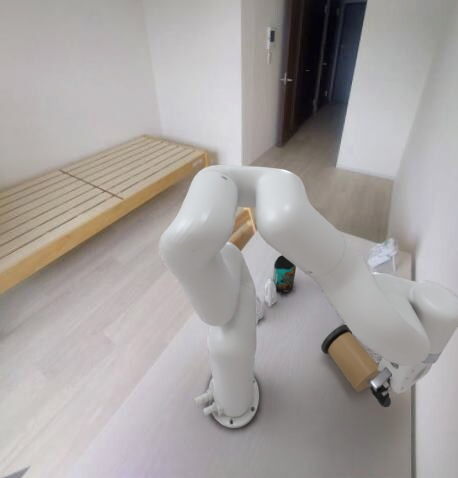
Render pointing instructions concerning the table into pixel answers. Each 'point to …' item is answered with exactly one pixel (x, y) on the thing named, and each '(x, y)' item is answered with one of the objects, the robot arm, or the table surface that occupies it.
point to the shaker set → (266, 298)
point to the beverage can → (283, 275)
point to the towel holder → (351, 359)
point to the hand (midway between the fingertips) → (393, 384)
